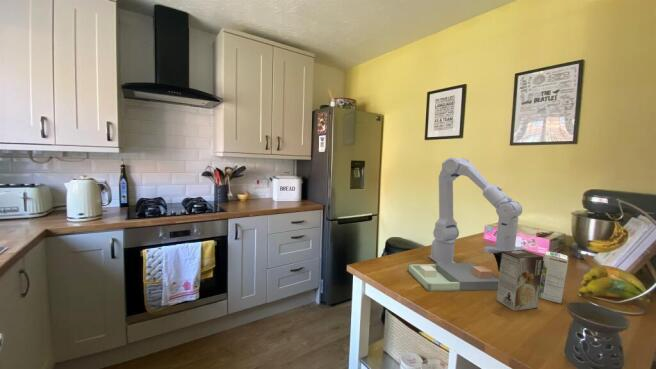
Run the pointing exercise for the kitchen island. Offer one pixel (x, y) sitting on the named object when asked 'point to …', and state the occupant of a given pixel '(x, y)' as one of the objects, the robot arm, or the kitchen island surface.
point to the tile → (427, 271)
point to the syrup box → (553, 277)
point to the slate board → (466, 276)
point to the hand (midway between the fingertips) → (502, 272)
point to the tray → (432, 279)
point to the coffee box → (519, 279)
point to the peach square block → (481, 272)
